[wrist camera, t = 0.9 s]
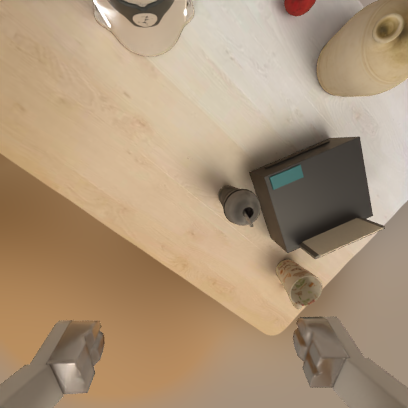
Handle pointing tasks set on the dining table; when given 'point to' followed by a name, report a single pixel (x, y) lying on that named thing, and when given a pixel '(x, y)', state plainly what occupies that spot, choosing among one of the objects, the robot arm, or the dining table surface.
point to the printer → (317, 197)
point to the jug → (367, 52)
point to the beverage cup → (239, 205)
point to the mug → (298, 283)
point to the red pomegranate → (298, 6)
